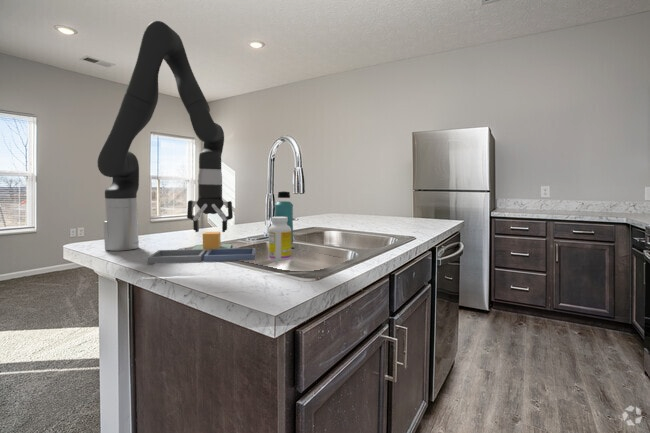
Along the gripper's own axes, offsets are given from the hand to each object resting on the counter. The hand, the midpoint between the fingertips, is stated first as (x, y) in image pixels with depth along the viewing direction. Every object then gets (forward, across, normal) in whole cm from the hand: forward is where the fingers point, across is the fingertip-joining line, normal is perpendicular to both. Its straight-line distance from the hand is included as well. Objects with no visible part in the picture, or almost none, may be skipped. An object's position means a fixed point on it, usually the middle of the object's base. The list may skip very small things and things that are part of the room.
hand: (210, 231), depth 116 cm
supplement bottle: (+6, -22, +17) cm, 29 cm away
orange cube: (+5, 0, 0) cm, 5 cm away
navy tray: (+6, -8, +13) cm, 17 cm away
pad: (+6, 0, 0) cm, 6 cm away
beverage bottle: (+6, -24, +1) cm, 25 cm away
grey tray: (+6, +7, +13) cm, 16 cm away
